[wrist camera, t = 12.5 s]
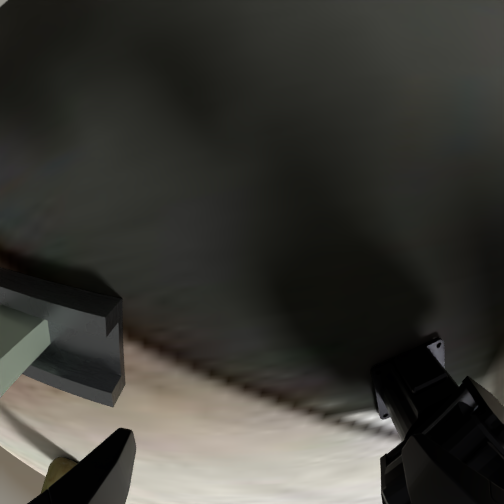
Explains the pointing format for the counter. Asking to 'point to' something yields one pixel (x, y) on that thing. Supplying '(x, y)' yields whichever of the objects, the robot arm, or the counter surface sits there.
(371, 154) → the counter surface
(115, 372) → the track
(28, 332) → the door panel
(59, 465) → the fennel bulb
